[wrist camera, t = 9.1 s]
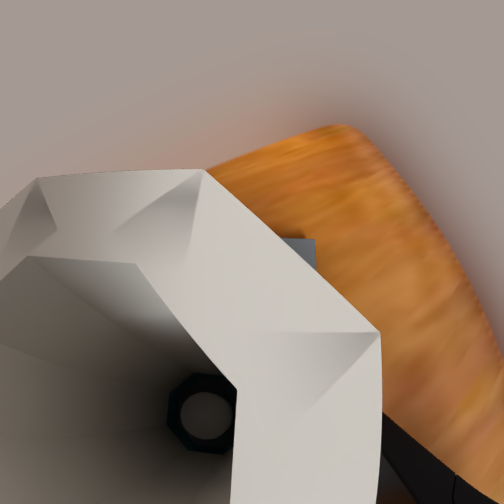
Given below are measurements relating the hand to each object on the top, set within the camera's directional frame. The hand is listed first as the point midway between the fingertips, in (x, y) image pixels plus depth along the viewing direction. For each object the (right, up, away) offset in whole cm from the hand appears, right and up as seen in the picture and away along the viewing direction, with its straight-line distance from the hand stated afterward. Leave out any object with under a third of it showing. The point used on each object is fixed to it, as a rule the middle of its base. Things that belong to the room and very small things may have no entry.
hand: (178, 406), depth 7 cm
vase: (0, -4, +6) cm, 7 cm away
